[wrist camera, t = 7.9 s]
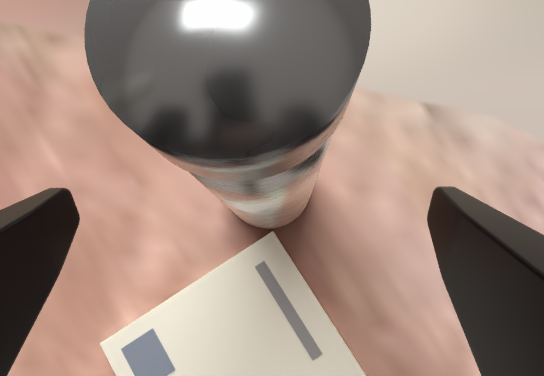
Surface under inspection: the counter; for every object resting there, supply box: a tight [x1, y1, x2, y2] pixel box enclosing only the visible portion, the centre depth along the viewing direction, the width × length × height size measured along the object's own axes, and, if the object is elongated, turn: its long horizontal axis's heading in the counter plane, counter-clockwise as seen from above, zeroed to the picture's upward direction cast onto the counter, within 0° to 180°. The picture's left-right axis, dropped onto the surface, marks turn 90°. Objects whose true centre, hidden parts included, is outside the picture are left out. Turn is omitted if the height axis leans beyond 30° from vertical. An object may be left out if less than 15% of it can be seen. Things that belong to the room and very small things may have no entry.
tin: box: [85, 0, 371, 229], centre depth 12 cm, size 4×4×12 cm
